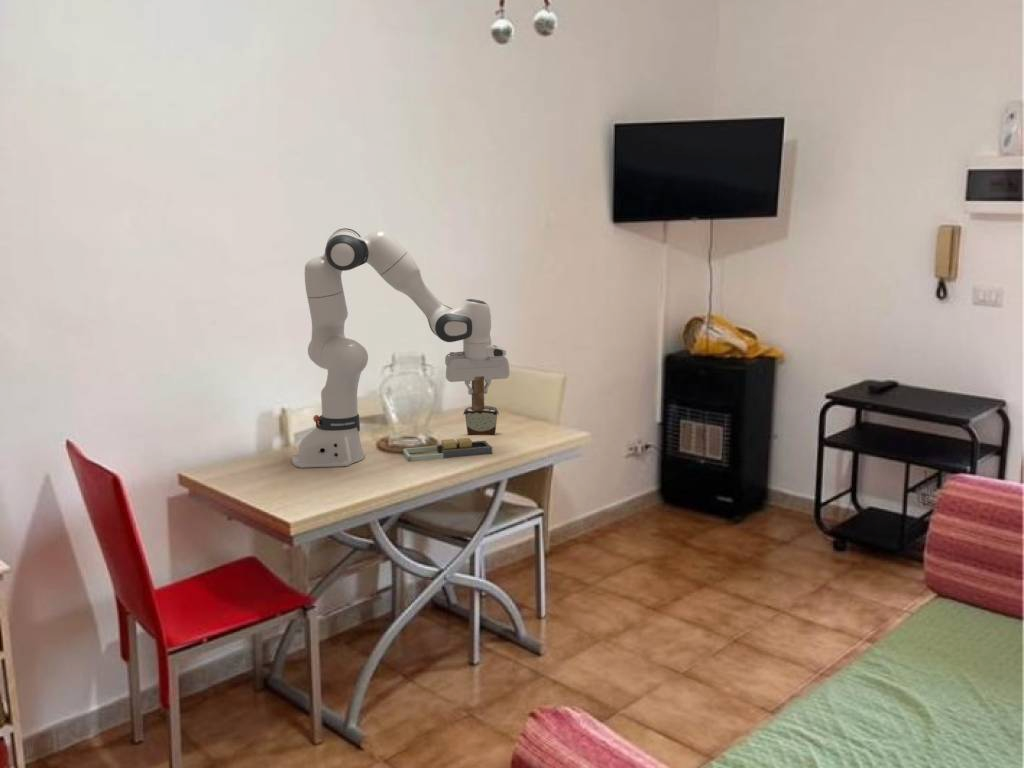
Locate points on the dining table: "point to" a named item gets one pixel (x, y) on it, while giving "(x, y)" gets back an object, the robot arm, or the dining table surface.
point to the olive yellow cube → (464, 443)
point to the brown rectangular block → (478, 394)
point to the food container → (481, 421)
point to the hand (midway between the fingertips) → (477, 393)
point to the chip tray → (422, 457)
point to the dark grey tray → (467, 450)
